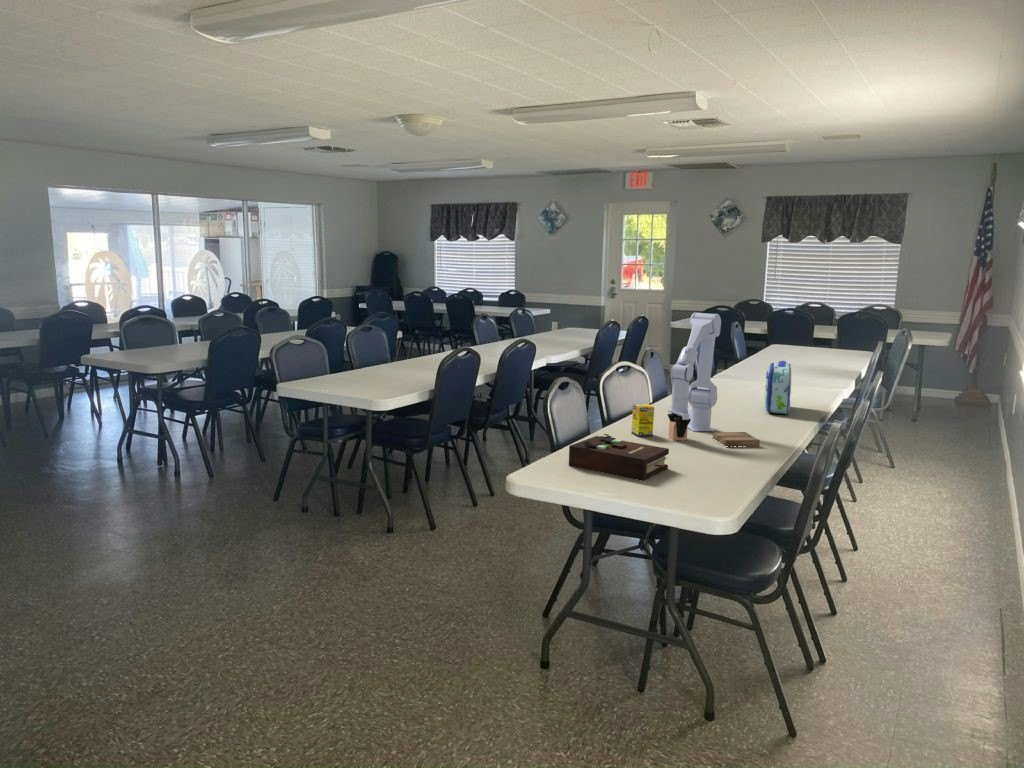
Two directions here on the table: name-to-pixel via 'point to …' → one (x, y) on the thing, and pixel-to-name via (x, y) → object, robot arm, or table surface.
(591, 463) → the decorative book
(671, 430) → the terracotta block
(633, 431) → the supplement box
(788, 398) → the lunch box
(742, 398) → the table surface
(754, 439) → the walnut block
